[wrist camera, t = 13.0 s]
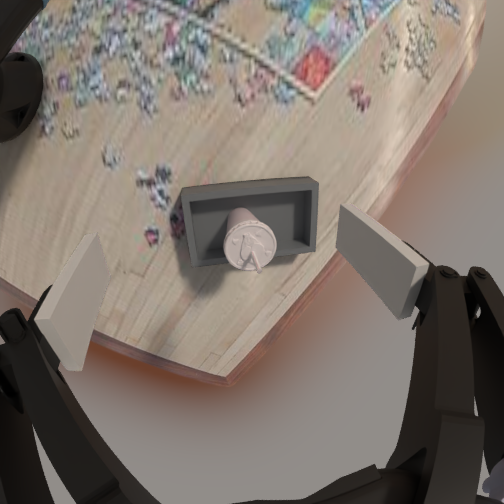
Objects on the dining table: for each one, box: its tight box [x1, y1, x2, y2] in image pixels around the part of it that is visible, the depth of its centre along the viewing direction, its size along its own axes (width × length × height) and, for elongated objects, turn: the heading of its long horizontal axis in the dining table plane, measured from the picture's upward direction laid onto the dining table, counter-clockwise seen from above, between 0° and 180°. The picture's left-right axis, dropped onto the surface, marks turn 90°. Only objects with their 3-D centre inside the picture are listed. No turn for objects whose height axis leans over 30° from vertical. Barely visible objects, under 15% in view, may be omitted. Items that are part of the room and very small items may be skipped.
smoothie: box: [223, 207, 277, 274], centre depth 36 cm, size 6×6×14 cm
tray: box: [181, 177, 319, 267], centre depth 41 cm, size 11×19×4 cm, turn 93°
